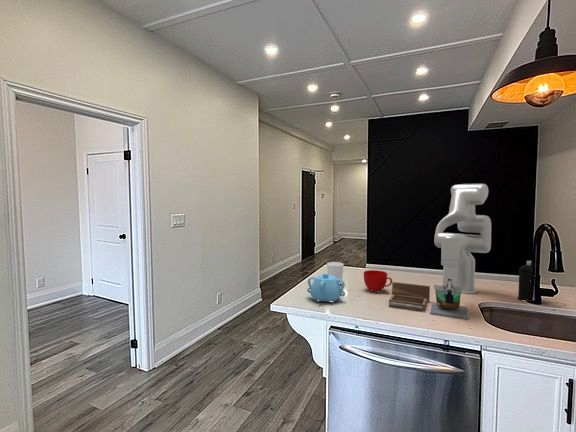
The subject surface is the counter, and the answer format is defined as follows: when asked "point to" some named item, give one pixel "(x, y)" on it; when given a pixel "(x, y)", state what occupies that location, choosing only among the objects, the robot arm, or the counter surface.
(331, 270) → the cup
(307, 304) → the counter surface
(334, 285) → the decorative pot
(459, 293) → the food container
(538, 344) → the counter surface
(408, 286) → the box
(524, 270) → the black bottle
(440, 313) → the mat
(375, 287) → the ceramic cup
